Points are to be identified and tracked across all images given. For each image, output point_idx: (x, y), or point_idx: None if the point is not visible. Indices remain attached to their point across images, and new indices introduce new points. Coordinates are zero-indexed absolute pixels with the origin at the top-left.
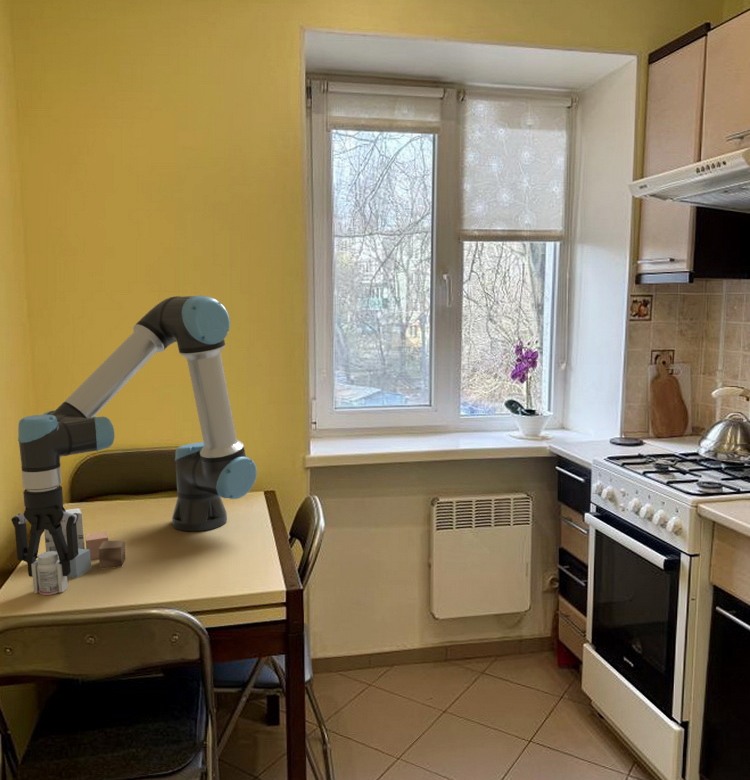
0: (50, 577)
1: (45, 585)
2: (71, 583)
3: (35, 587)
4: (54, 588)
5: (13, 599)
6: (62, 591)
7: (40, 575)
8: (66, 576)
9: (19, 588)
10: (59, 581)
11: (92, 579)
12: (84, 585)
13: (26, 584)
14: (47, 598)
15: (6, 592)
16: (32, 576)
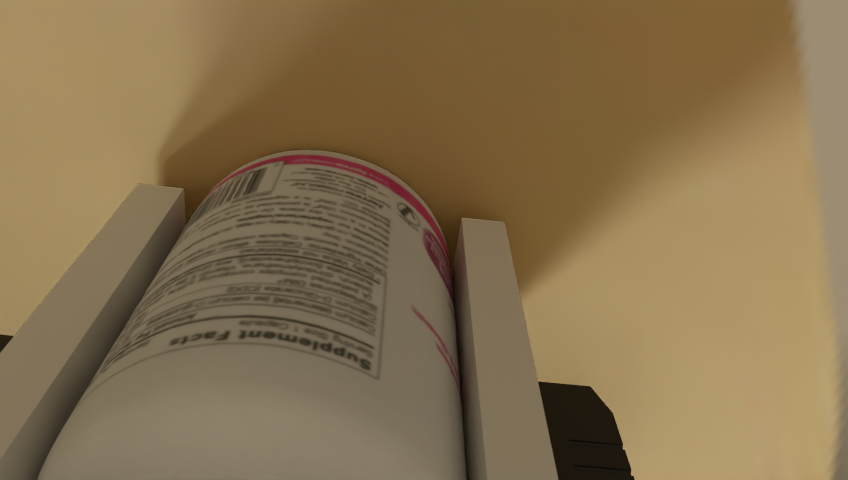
0: (190, 277)
1: (305, 205)
2: None
3: (483, 255)
4: (211, 202)
5: (719, 98)
6: (137, 192)
7: (365, 319)
8: None
9: (704, 369)
10: (111, 265)
11: None
12: None
13: (651, 441)
14: (277, 61)
15: (830, 297)
16: (531, 359)
